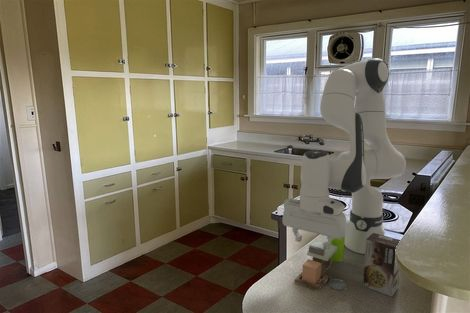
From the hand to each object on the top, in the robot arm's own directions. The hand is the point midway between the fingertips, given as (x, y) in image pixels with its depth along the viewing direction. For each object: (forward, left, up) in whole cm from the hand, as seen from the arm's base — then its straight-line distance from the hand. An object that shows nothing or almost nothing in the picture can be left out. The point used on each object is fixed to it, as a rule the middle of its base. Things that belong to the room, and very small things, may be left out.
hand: (312, 244), depth 106 cm
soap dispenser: (-21, +1, -13) cm, 25 cm away
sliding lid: (-9, 0, -6) cm, 11 cm away
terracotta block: (0, 0, -13) cm, 13 cm away
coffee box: (-10, +19, -13) cm, 25 cm away
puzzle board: (-5, 0, -13) cm, 14 cm away
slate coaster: (-3, +8, -13) cm, 15 cm away
